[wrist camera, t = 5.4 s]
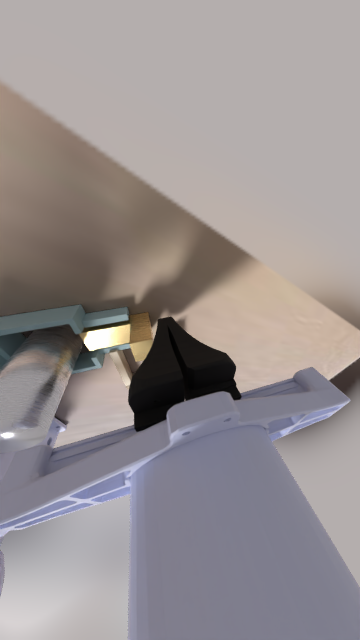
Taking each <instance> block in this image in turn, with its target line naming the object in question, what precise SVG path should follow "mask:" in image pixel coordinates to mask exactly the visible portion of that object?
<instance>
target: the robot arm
mask: <svg viewBox="0 0 360 640" xmlns="http://www.w3.org/2000/svg"><path fill="white" fill-rule="evenodd" d="M235 371H236V366H235V364H234V362H233V361H232V360H231V358H230V357H229V356H228V355H227V354H226V353H224V352H221V351H218V350H216V349H213V348H211V347H209V346H207V345H205V344H203V343H201V342H199V341H198V340H196V339H195V338H193V337H192V336H191V335H189V334H188V333H187V332H186V331H185V330H183V329H182V328H181V327H180V326H179V325H178V324H177V323H176V321H175V320H174V319H173V318H172V317H167V318H161V319H158V326H157V331H156V335H155V338H154V341H153V344H152V346H151V348H150V351H149V352H148V354H147V356H146V358H145V360H144V361H143V363H142V364H141V366H140V367H139V368H138V370H137V371H136V372H135V374H134V375H133V376H132V379H131V383H130V387H129V396H128V402H129V405H130V407H131V409H132V410H133V412H134V425H132V426H128V427H125V428H121V429H118V430H115V431H111V432H108V433H104V434H101V435H98V436H94V437H91V438H87V439H84V440H81V441H77V442H74V443H71V444H67V445H64V446H60V447H57V448H54V449H53V447H54V444H55V441H56V439H57V436H58V433H59V432H62V431H65V430H66V428H67V426H66V425H65V424H63V423H62V422H61V421H59V420H58V419H56V418H55V417H54V418H53V421H52V423H51V426H50V428H49V431H48V433H47V436H46V438H45V439H44V440H43V441H42V442H40V443H39V444H37V445H35V446H32V447H30V448H26V449H23V450H19V451H14V452H8V453H0V546H1V543H2V541H3V538H4V537H3V535H5V534H6V533H7V532H8V531H10V530H21V529H24V528H27V527H30V526H32V525H35V524H38V523H41V522H44V521H47V520H50V519H52V518H55V517H59V516H62V515H65V514H68V513H71V512H74V511H78V510H81V509H84V508H87V507H90V506H94V505H97V504H100V503H103V502H107V501H110V500H113V499H117V498H120V497H123V496H126V495H129V494H130V546H129V548H130V550H129V551H130V552H129V603H128V604H129V605H128V606H129V608H128V640H360V587H359V585H358V584H357V582H356V580H355V579H354V577H353V575H352V574H351V572H350V571H349V569H348V567H347V566H346V564H345V562H344V561H343V559H342V557H341V556H340V554H339V552H338V551H337V549H336V547H335V546H334V544H333V542H332V541H331V539H330V537H329V536H328V534H327V532H326V531H325V529H324V527H323V526H322V524H321V522H320V521H319V519H318V517H317V516H316V514H315V512H314V511H313V509H312V507H311V506H310V504H309V502H308V501H307V499H306V497H305V496H304V494H303V493H302V491H301V489H300V488H299V486H298V484H297V482H296V481H295V479H294V477H293V476H292V474H291V472H290V471H289V469H288V467H287V466H286V464H285V462H284V461H283V459H282V458H281V456H280V454H279V453H278V451H277V449H276V447H275V446H274V444H273V443H272V441H274V440H275V439H278V438H280V437H283V436H285V435H287V434H290V433H292V432H294V431H296V430H299V429H301V428H303V427H305V426H308V425H310V424H313V423H315V422H318V421H321V420H323V419H326V418H328V417H330V416H331V415H332V414H333V413H335V412H336V411H338V410H339V409H340V408H342V407H343V406H344V405H346V404H347V403H349V402H350V399H349V398H348V397H347V396H346V395H345V394H343V393H342V392H341V391H340V390H339V389H337V388H336V387H335V386H334V385H333V384H332V383H331V382H329V381H328V380H327V379H326V378H325V377H324V376H322V375H321V374H320V373H319V372H318V371H317V370H315V369H314V368H313V367H310V368H306V369H303V370H300V371H298V372H296V373H295V375H294V376H293V378H291V379H287V380H284V381H281V382H277V383H274V384H270V385H267V386H264V387H260V388H257V389H254V390H250V391H247V392H243V393H240V392H239V391H238V389H237V387H236V382H235V380H234V379H233V378H234V375H235ZM184 400H185V401H184ZM4 571H5V570H4V556H3V553H2V551H1V550H0V595H1V592H2V587H3V582H4Z"/></svg>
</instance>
